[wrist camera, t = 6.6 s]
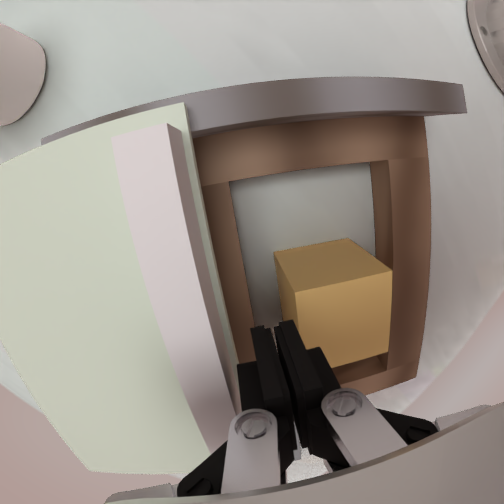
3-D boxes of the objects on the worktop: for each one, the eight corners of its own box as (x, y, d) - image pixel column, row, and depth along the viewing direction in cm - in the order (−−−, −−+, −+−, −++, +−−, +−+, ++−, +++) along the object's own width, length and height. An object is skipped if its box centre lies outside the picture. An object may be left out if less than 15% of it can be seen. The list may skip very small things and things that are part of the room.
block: (347, 237, 20) (392, 270, 14) (350, 304, 22) (388, 351, 16) (273, 251, 20) (294, 292, 14) (282, 319, 21) (303, 374, 16)
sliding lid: (186, 106, 11) (170, 83, 7) (262, 452, 17) (270, 504, 13) (-37, 187, 10) (-90, 203, 6) (92, 460, 16) (80, 503, 12)
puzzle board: (399, 97, 17) (462, 84, 11) (402, 360, 24) (439, 407, 18) (95, 141, 16) (40, 139, 10) (177, 409, 23) (171, 472, 17)
